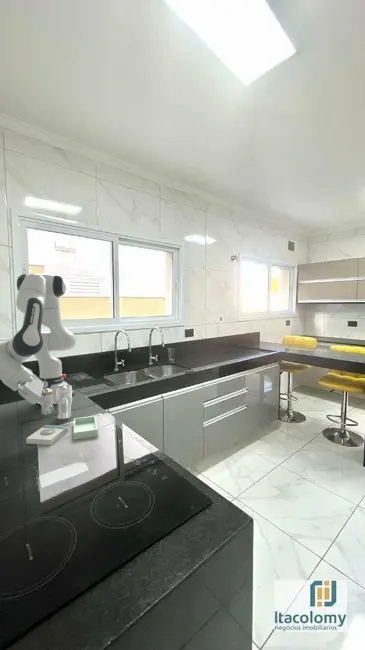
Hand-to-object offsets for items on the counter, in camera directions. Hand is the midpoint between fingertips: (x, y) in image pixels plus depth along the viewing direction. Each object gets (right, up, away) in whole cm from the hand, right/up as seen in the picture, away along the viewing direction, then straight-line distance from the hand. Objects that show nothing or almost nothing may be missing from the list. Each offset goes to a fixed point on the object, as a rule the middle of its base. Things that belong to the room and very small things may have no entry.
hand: (49, 400), depth 111 cm
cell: (-1, -5, 0) cm, 5 cm away
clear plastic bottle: (-2, -14, +21) cm, 25 cm away
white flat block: (-1, -15, 0) cm, 15 cm away
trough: (+12, -14, +7) cm, 20 cm away
